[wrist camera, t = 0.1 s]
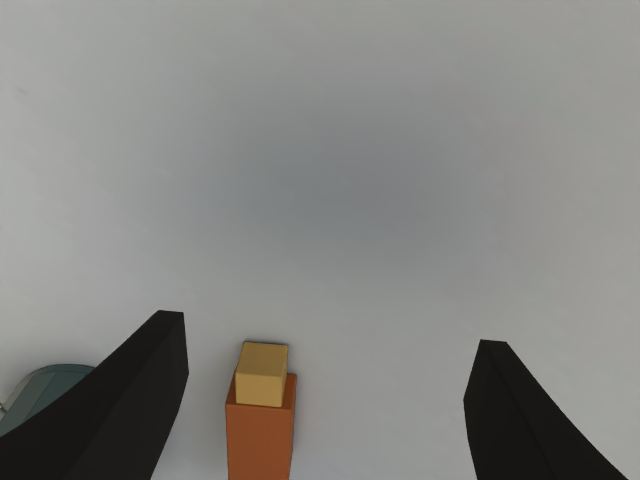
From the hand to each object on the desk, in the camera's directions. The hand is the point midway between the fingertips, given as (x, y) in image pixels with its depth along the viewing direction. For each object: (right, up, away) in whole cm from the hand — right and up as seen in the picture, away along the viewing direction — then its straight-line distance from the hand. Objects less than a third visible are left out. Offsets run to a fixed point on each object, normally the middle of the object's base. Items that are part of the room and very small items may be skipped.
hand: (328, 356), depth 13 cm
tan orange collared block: (-3, -6, +15) cm, 17 cm away
